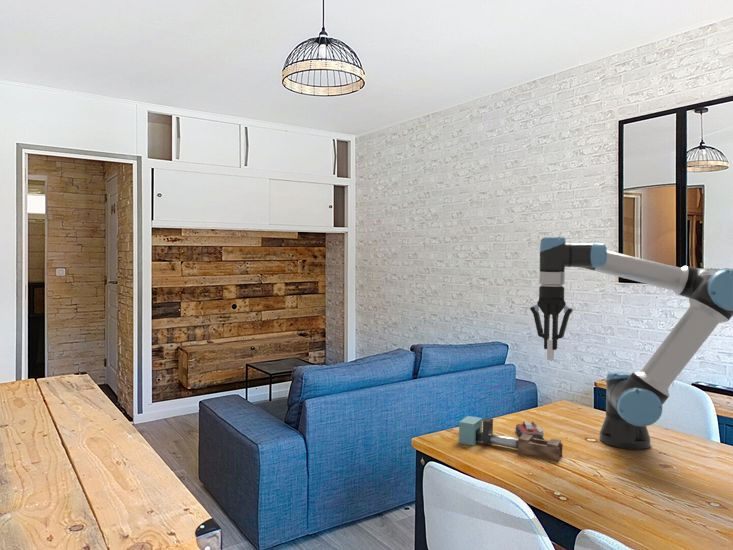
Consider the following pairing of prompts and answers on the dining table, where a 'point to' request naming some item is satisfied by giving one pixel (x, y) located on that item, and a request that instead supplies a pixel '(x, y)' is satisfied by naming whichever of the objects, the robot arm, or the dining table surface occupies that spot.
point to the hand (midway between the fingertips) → (550, 359)
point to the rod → (494, 436)
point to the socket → (469, 430)
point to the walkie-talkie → (529, 430)
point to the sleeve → (540, 447)
